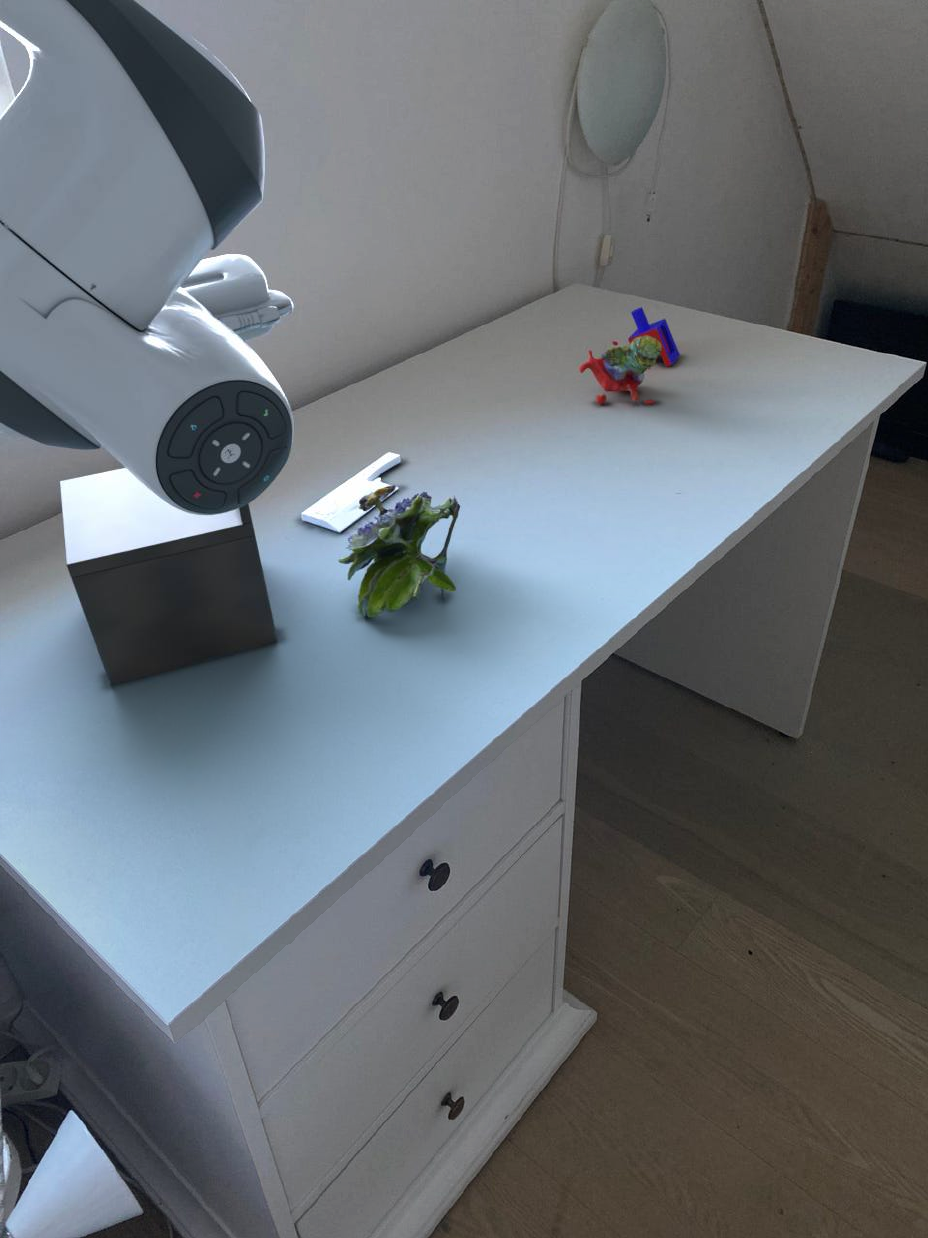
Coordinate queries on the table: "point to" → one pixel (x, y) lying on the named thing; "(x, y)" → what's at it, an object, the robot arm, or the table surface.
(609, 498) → the table surface
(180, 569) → the block with raised lip
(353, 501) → the white plastic strip tool
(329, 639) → the table surface
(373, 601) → the passion flower
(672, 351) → the blue and red dreidel
